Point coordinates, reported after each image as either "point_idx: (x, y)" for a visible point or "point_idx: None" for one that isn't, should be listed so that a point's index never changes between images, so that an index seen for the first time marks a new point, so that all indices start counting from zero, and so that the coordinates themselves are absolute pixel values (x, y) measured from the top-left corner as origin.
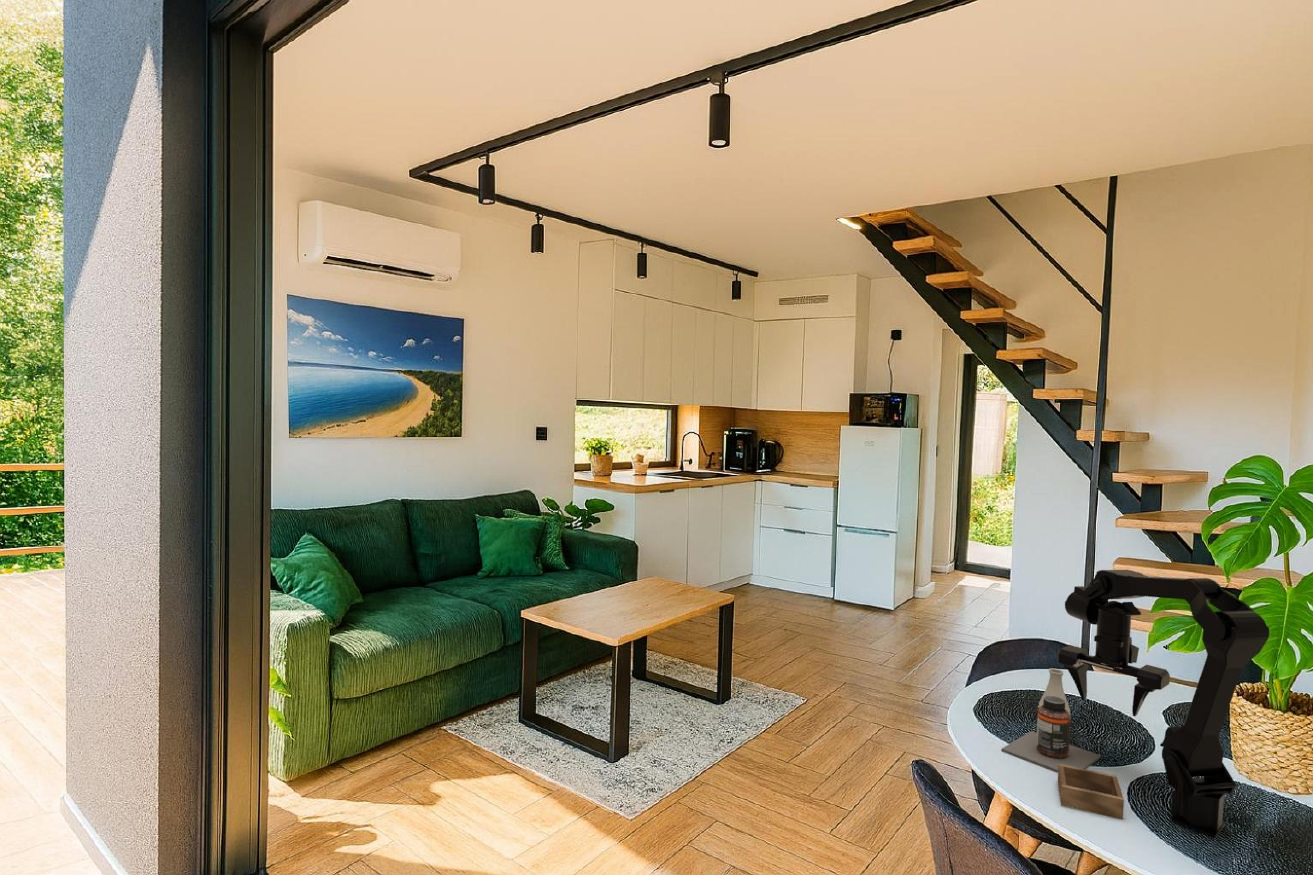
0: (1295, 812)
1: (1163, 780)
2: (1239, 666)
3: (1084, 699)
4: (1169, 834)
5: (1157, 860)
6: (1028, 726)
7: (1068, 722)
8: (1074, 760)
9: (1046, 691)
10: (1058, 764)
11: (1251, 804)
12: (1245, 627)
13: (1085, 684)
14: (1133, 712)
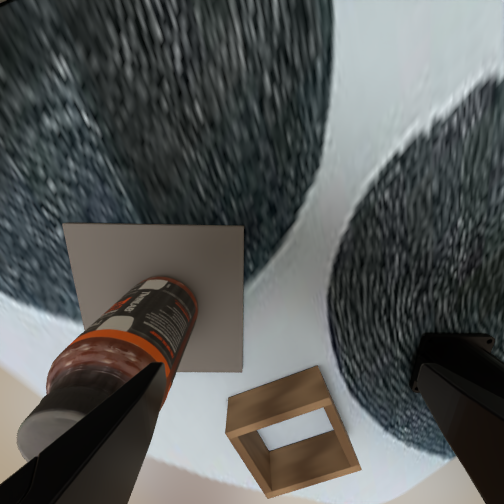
0: None
1: (381, 229)
2: None
3: (163, 387)
4: (409, 422)
5: (401, 486)
6: (32, 178)
7: (171, 375)
8: (214, 304)
9: None
10: (226, 433)
11: None
12: None
13: (100, 478)
14: (436, 415)
